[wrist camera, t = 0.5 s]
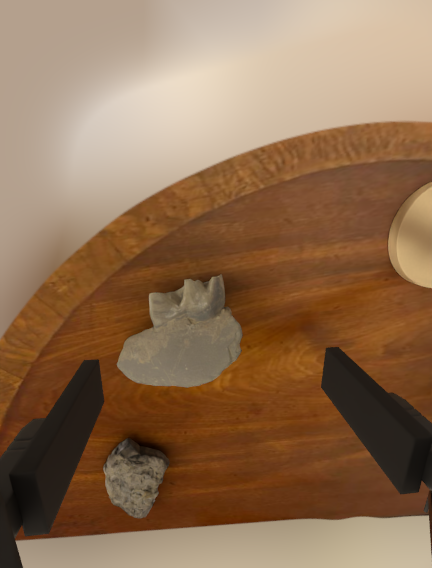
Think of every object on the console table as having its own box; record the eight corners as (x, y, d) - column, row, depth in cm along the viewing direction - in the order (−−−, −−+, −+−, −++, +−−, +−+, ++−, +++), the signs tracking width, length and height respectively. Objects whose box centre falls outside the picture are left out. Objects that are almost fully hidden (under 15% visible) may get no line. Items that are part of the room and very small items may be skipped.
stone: (151, 507, 41) (148, 529, 38) (94, 498, 40) (86, 521, 37) (178, 432, 38) (177, 450, 35) (117, 420, 36) (111, 438, 34)
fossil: (225, 316, 37) (215, 256, 31) (260, 379, 30) (257, 318, 23) (122, 354, 35) (88, 298, 28) (132, 434, 27) (88, 383, 21)
